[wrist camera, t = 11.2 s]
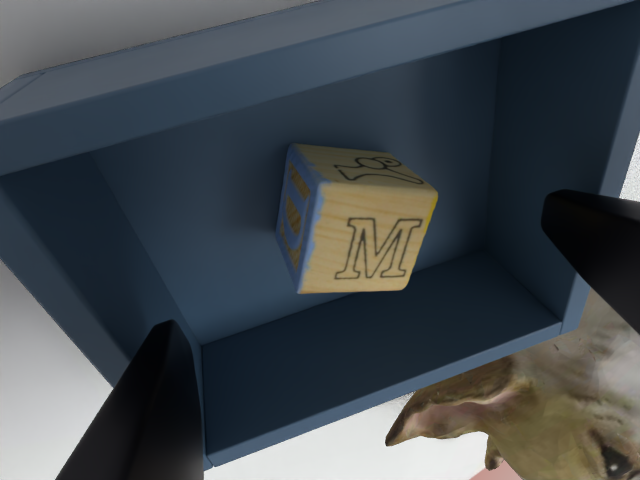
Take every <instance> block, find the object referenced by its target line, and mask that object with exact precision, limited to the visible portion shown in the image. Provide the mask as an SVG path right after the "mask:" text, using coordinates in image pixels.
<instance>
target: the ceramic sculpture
mask: <svg viewBox="0 0 640 480" xmlns="http://www.w3.org/2000/svg"><path fill="white" fill-rule="evenodd" d="M477 431H481V432H485V433H486V434H488V435H489V437H488V440H487V450H486V456H485V466H486V468H487V469H488V470H489V471H490V470H492V469H496V468H497V467H499V466H500V464H501V463H502V461H503V460H505V461H506V462H507V463H508V464H509V465H510V466H511V468H512V469H513V470H514V471H515V472H516V473H517V474H518V475H519V476H520V477H521V478H522V479H523V480H640V335H639V334H638V333H637V332H636V331H635V330H634V329H633V328H632V327H631V326H630V325H629V324H628V323H627V322H626V321H625V320H624V319H623V318H622V317H621V316H620V315H619V314H618V313H617V312H616V311H615V310H614V309H613V308H612V307H610V306H609V305H608V304H607V303H606V302H605V301H604V300H603V299H602V298H601V297H600V296H599V295H598V294H597V293H596V292H595V291H594V290H593V289H592V288H590V291H589V295H588V298H587V301H586V304H585V307H584V310H583V314H582V317H581V320H580V323H579V326H578V328H577V329H576V330H573V331H570V332H568V333H565V334H562V335H558V336H557V337H555V338H552V339H550V340H547V341H544V342H542V343H539V344H536V345H534V346H531V347H529V348H526V349H523V350H521V351H518V352H516V353H513V354H510V355H508V356H505V357H502V358H500V359H497V360H495V361H492V362H489V363H487V364H484V365H482V366H479V367H476V368H474V369H471V370H468V371H466V372H463V373H461V374H458V375H455V376H453V377H450V378H448V379H445V380H442V381H440V382H437V383H434V384H432V385H429V386H427V387H424V388H421V389H419V390H417V391H416V392H415V393H414V395H413V396H412V397H411V398H410V400H409V401H408V402H407V404H406V405H405V406H404V408H403V410H402V411H401V413H400V414H399V416H398V418H397V419H396V421H395V422H394V424H393V426H392V427H391V429H390V431H389V433H388V434H387V436H386V440H385V443H386V446H393V445H396V444H399V443H401V442H404V441H406V440H409V439H412V438H415V437H418V436H424V437H427V438H437V439H448V438H456V437H459V436H460V435H462V434H466V433H470V432H477Z"/></svg>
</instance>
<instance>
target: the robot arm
mask: <svg viewBox="0 0 640 480" xmlns="http://www.w3.org/2000/svg"><path fill="white" fill-rule="evenodd" d="M540 224H541V228H542V230H543V232H544V233H545V234H546V235H547V237H548V238H549V239H550V240H551V242H552V243H553V244H554V245H555V246H556V248H557V249H558V250H559V251H560V252H561V254H562V255H563V256H564V257H565V258H566V260H567V261H568V262H569V263H570V264H571V266H572V267H573V268H574V269H575V271H576V272H577V273H578V274H579V275H580V276H581V277H582V279H583V280H584V281H585V282H586V283H587V284H588V285H589V286H590V287H591V288H592V289H593V290H594V291H595V292H596V293H597V294H598V295H599V296H600V297H601V298H602V299H603V300H604V301H605V302H606V303H607V304H608V305H609V306H610V307H612V308H613V309H614V310H615V311H616V312H617V313H618V314H619V315H620V316H621V317H622V318H623V319H624V320H625V321H626V322H627V323H628V324H629V325H630V326H631V327H632V328H633V329H634V330H635V331H636V332H637V333H638V334H639V335H640V202H638V201H632V200H626V199H621V198H615V197H609V196H603V195H598V194H592V193H586V192H581V191H575V190H569V189H561V190H558V191H555V192H552V193H549V194H548V195H547V196H546V197H545V199H544V204H543V210H542V215H541V221H540ZM55 480H204V472H203V432H202V414H201V407H200V400H199V393H198V386H197V379H196V373H195V366H194V359H193V353H192V348H191V345H190V343H189V341H188V340H187V338H186V336H185V334H184V333H183V331H182V329H181V328H180V326H179V324H178V323H177V322H176V321H175V320H173V319H170V320H167V321H164V322H161V323H158V324H156V325H154V326H153V328H152V329H151V331H150V332H149V334H148V335H147V337H146V338H145V340H144V342H143V343H142V345H141V346H140V348H139V349H138V351H137V353H136V354H135V356H134V357H133V359H132V360H131V362H130V363H129V365H128V367H127V368H126V370H125V371H124V373H123V374H122V376H121V377H120V379H119V381H118V382H117V384H116V385H115V387H114V388H113V390H112V392H111V393H110V395H109V396H108V398H107V399H106V401H105V402H104V404H103V406H102V407H101V409H100V410H99V412H98V413H97V415H96V417H95V418H94V420H93V421H92V423H91V424H90V426H89V427H88V429H87V431H86V432H85V434H84V435H83V437H82V438H81V440H80V442H79V443H78V445H77V446H76V448H75V449H74V451H73V452H72V454H71V456H70V457H69V459H68V460H67V462H66V463H65V465H64V466H63V468H62V470H61V471H60V473H59V474H58V476H57V477H56V479H55Z"/></svg>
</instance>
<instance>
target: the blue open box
mask: <svg viewBox="0 0 640 480" xmlns="http://www.w3.org/2000/svg"><path fill="white" fill-rule="evenodd" d="M639 133H640V0H320V1H316V2H312V3H308V4H304V5H300V6H296V7H292V8H288V9H284V10H280V11H276V12H272V13H268V14H264V15H260V16H256V17H252V18H248V19H244V20H240V21H236V22H232V23H228V24H224V25H220V26H216V27H212V28H208V29H204V30H200V31H196V32H192V33H188V34H184V35H180V36H176V37H172V38H168V39H164V40H160V41H156V42H152V43H148V44H144V45H140V46H136V47H132V48H128V49H124V50H120V51H116V52H112V53H107V54H103V55H99V56H95V57H91V58H87V59H83V60H79V61H75V62H71V63H67V64H63V65H59V66H55V67H51V68H47V69H43V70H39V71H35V72H31V73H27V74H23V75H21V76H19V77H17V78H16V79H14V80H13V81H11V82H10V83H8V84H7V85H5V86H3V87H2V88H0V259H1V260H2V261H3V262H4V264H5V265H6V266H7V267H8V268H9V269H10V270H11V272H12V273H13V274H14V275H15V276H16V277H17V278H18V280H19V281H20V282H21V283H22V284H23V285H24V286H25V288H26V289H27V290H28V291H29V292H30V293H31V294H32V296H33V297H34V298H35V299H36V300H37V301H38V302H39V304H40V305H41V306H42V307H43V308H44V309H45V310H46V312H47V313H48V314H49V315H50V316H51V317H52V318H53V320H54V321H55V322H56V323H57V324H58V325H59V326H60V328H61V329H62V330H63V331H64V332H65V333H66V334H67V336H68V337H69V338H70V339H71V340H72V341H73V342H74V344H75V345H76V346H77V347H78V348H79V349H80V350H81V352H82V353H83V354H84V355H85V356H86V357H87V358H88V360H89V361H90V362H91V363H92V364H93V365H94V366H95V368H96V369H97V370H98V371H99V372H100V373H101V374H102V376H103V377H104V378H105V379H106V380H107V381H108V382H109V384H110V385H111V386H112V387H113V388H114V387H115V385H116V384H117V382H118V381H119V379H120V377H121V376H122V374H123V373H124V371H125V370H126V368H127V367H128V365H129V363H130V362H131V360H132V359H133V357H134V356H135V354H136V353H137V351H138V349H139V348H140V346H141V345H142V343H143V342H144V340H145V338H146V337H147V335H148V334H149V332H150V331H151V329H152V328H153V326H154V325H156V324H158V323H161V322H164V321H167V320H170V319H173V320H175V321H176V322H177V323H178V324H179V326H180V328H181V329H182V331H183V333H184V334H185V336H186V338H187V340H188V341H189V343H190V345H191V348H192V353H193V359H194V366H195V373H196V379H197V386H198V393H199V400H200V407H201V414H202V432H203V471H206V470H208V469H211V468H212V467H213V466H214V467H217V466H220V465H223V464H225V463H228V462H230V461H233V460H236V459H238V458H241V457H244V456H246V455H249V454H251V453H254V452H257V451H259V450H262V449H264V448H267V447H270V446H272V445H275V444H278V443H280V442H283V441H285V440H288V439H291V438H293V437H296V436H298V435H301V434H304V433H306V432H309V431H312V430H314V429H317V428H319V427H322V426H325V425H327V424H330V423H332V422H335V421H338V420H340V419H343V418H346V417H348V416H351V415H353V414H356V413H359V412H361V411H364V410H366V409H369V408H372V407H374V406H377V405H380V404H382V403H385V402H387V401H390V400H393V399H395V398H398V397H400V396H403V395H406V394H408V393H411V392H414V391H416V390H419V389H421V388H424V387H427V386H429V385H432V384H434V383H437V382H440V381H442V380H445V379H448V378H450V377H453V376H455V375H458V374H461V373H463V372H466V371H468V370H471V369H474V368H476V367H479V366H482V365H484V364H487V363H489V362H492V361H495V360H497V359H500V358H502V357H505V356H508V355H510V354H513V353H516V352H518V351H521V350H523V349H526V348H529V347H531V346H534V345H536V344H539V343H542V342H544V341H547V340H550V339H552V338H555V337H557V336H558V335H562V334H565V333H568V332H570V331H573V330H576V329H577V328H578V326H579V323H580V320H581V317H582V314H583V310H584V307H585V304H586V301H587V298H588V295H589V291H590V288H591V287H590V286H589V285H588V284H587V283H586V282H585V281H584V280H583V279H582V277H581V276H580V275H579V274H578V273H577V272H576V271H575V269H574V268H573V267H572V266H571V264H570V263H569V262H568V261H567V260H566V258H565V257H564V256H563V255H562V254H561V252H560V251H559V250H558V249H557V248H556V246H555V245H554V244H553V243H552V242H551V240H550V239H549V238H548V237H547V235H546V234H545V233H544V232H543V230H542V228H541V224H540V221H541V215H542V210H543V204H544V199H545V197H546V196H547V195H548V194H549V193H552V192H555V191H558V190H561V189H569V190H575V191H581V192H586V193H592V194H598V195H603V196H609V197H615V198H619V196H620V193H621V190H622V187H623V183H624V180H625V177H626V174H627V171H628V168H629V164H630V161H631V158H632V155H633V152H634V149H635V145H636V142H637V139H638V136H639ZM291 143H297V144H306V145H315V146H325V147H335V148H345V149H356V150H366V151H376V152H386V153H390V154H391V155H392V156H393V157H395V158H396V159H397V160H398V161H400V162H401V163H402V164H403V165H404V166H406V167H407V168H408V169H410V170H411V171H412V172H413V173H415V174H416V175H418V176H419V177H420V178H422V179H423V180H424V181H425V182H427V183H428V184H430V185H431V186H432V187H433V188H434V189H435V190H436V191H437V192H438V200H437V203H436V206H435V209H434V210H433V213H432V217H431V220H430V222H429V224H428V228H427V231H426V234H425V236H424V237H423V241H422V244H421V247H420V249H419V253H418V255H417V258H416V262H415V265H414V267H413V269H412V273H411V275H410V278H409V281H408V284H407V285H406V287H405V288H403V289H402V290H393V291H362V292H330V293H307V294H298V293H297V292H296V290H295V288H294V285H293V282H292V279H291V277H290V274H289V271H288V268H287V266H286V263H285V261H284V258H283V256H282V253H281V250H280V248H279V245H278V243H277V240H276V236H275V232H276V224H277V218H278V212H279V204H280V198H281V191H282V186H283V177H284V172H285V163H286V156H287V151H288V147H289V145H290V144H291Z"/></svg>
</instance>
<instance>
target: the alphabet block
mask: <svg viewBox="0 0 640 480" xmlns="http://www.w3.org/2000/svg"><path fill="white" fill-rule="evenodd" d="M437 200H438V192H437V191H436V190H435V189H434V188H433V187H432V186H431V185H430V184H428V183H427V182H425V181H424V180H423V179H422V178H420V177H419V176H418V175H416V174H415V173H413V172H412V171H411V170H410V169H408V168H407V167H406V166H404V165H403V164H402V163H401V162H400V161H398V160H397V159H396V158H395V157H393V156H392V155H391V154H390V153H386V152H376V151H366V150H356V149H345V148H335V147H325V146H315V145H306V144H297V143H291V144H290V145H289V147H288V151H287V156H286V163H285V172H284V177H283V186H282V191H281V198H280V204H279V212H278V218H277V224H276V232H275V236H276V240H277V243H278V245H279V248H280V250H281V253H282V256H283V258H284V261H285V263H286V266H287V268H288V271H289V274H290V277H291V279H292V282H293V285H294V288H295V290H296V292H297V293H298V294H307V293H330V292H362V291H393V290H402V289H403V288H405V287H406V285H407V284H408V281H409V278H410V275H411V273H412V269H413V267H414V265H415V262H416V258H417V255H418V253H419V249H420V247H421V244H422V241H423V237H424V236H425V234H426V231H427V228H428V224H429V222H430V220H431V217H432V213H433V210H434V209H435V206H436V203H437Z"/></svg>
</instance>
